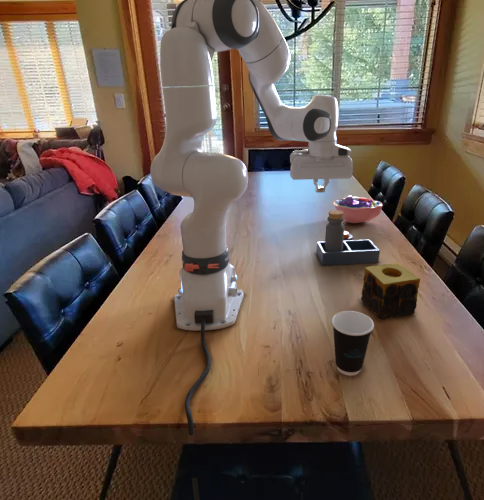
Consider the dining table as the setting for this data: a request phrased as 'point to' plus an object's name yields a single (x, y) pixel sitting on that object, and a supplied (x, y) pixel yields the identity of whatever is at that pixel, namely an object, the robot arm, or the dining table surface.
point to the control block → (349, 237)
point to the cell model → (358, 209)
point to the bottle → (334, 231)
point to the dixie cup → (351, 340)
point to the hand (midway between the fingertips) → (320, 192)
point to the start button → (346, 234)
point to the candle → (390, 290)
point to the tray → (349, 253)
